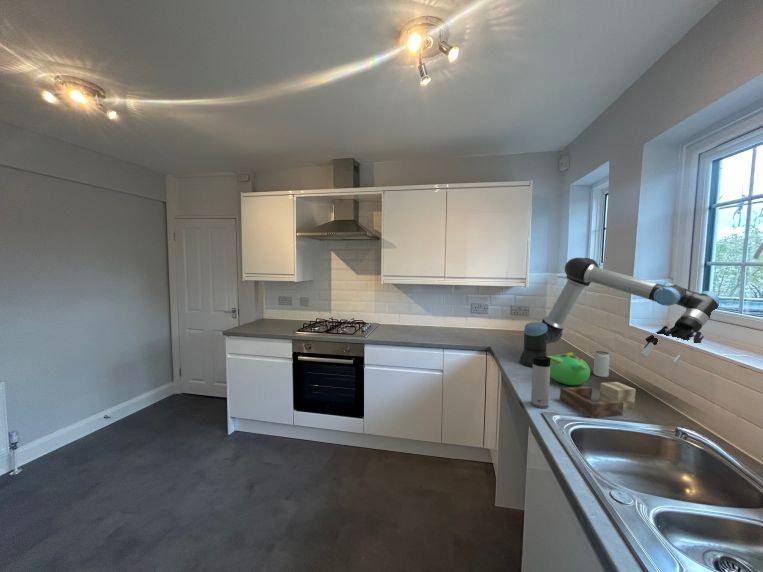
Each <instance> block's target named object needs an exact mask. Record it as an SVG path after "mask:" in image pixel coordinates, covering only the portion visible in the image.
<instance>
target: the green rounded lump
mask: <svg viewBox="0 0 763 572" xmlns="http://www.w3.org/2000/svg"><path fill="white" fill-rule="evenodd" d="M547 357H549V358H551V360H550V378H552V379H553V380H554V381H556V382H558V383H559V384H563V385H567V386H578V385H582V384H585V383H586V382H587V381H588V380H589V378H590V376H591V367H590V366H589V364H588V363H587V362H586V361H585V360H583V359H582V358H581V357H579V356H576V355H574V352H571V351H570V352H566V353H559V354H554V355H547Z"/></svg>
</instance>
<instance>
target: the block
mask: <svg viewBox="0 0 763 572" xmlns="http://www.w3.org/2000/svg"><path fill="white" fill-rule="evenodd" d="M599 389H600V390H599V402H601V401H614V400H619V401H622V402H623V411H624V410H625V411H626V410H635V405H636V388H634V387H630V386H628V385H626V384H624V383H621V382H620V381H619V382H618V381H608V382H601V383H600V387H599Z"/></svg>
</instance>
